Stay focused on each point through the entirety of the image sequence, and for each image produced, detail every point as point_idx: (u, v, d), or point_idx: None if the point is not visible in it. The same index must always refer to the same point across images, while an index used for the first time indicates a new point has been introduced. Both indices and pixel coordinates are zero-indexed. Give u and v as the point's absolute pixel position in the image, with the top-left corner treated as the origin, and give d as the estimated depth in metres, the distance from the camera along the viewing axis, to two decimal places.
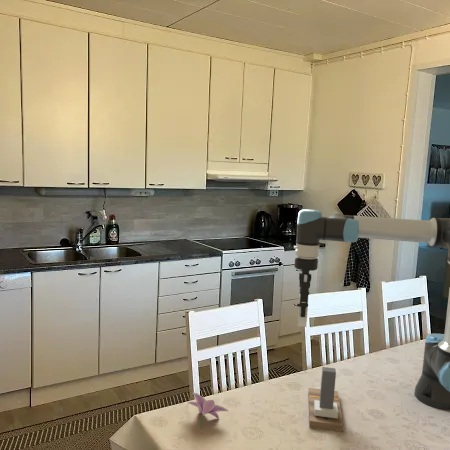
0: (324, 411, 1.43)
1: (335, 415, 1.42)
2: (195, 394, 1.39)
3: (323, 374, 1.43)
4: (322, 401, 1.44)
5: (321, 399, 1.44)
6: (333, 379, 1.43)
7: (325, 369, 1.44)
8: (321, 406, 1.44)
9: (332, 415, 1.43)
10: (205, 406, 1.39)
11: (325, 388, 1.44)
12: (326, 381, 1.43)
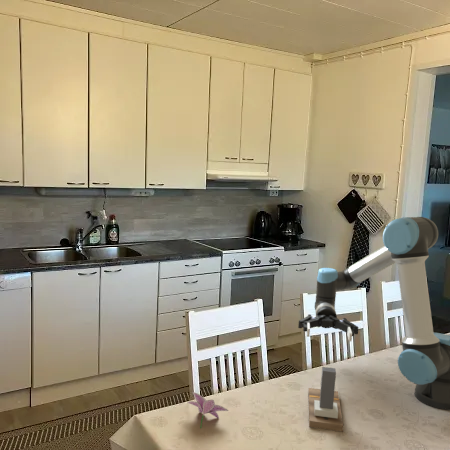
0: (324, 411, 1.43)
1: (335, 415, 1.42)
2: (195, 394, 1.39)
3: (323, 374, 1.43)
4: (322, 401, 1.44)
5: (321, 399, 1.44)
6: (333, 379, 1.43)
7: (325, 369, 1.44)
8: (321, 406, 1.44)
9: (332, 415, 1.43)
10: (205, 406, 1.39)
11: (325, 388, 1.44)
12: (326, 381, 1.43)
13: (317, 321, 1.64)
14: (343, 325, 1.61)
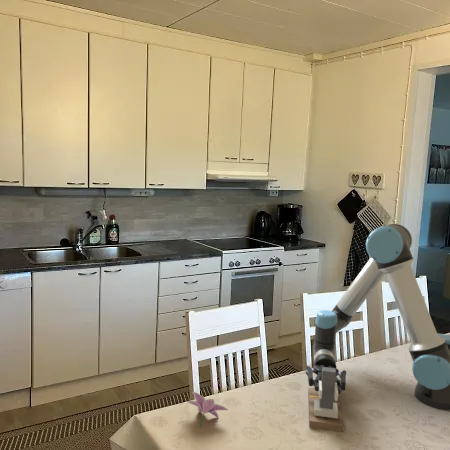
0: (324, 411, 1.43)
1: (335, 415, 1.42)
2: (195, 393, 1.39)
3: (323, 374, 1.43)
4: (322, 401, 1.44)
5: (321, 399, 1.44)
6: (333, 379, 1.43)
7: (325, 369, 1.44)
8: (321, 406, 1.44)
9: (332, 415, 1.43)
10: (205, 405, 1.39)
11: (325, 388, 1.44)
12: (326, 381, 1.43)
13: (321, 374, 1.52)
14: None
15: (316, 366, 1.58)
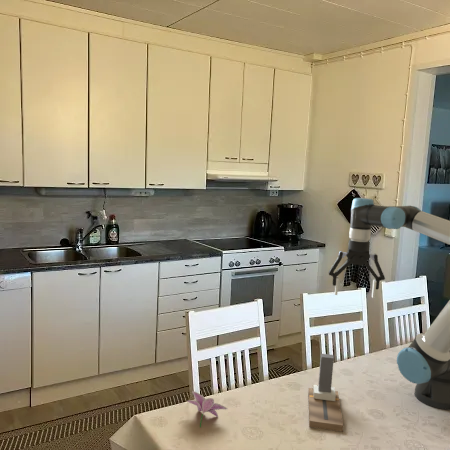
0: (322, 394, 1.54)
1: (333, 398, 1.53)
2: (194, 393, 1.40)
3: (322, 360, 1.54)
4: (321, 385, 1.55)
5: (320, 383, 1.55)
6: (331, 364, 1.54)
7: (323, 355, 1.55)
8: (320, 390, 1.55)
9: (330, 398, 1.53)
10: (204, 404, 1.40)
11: (323, 373, 1.54)
12: (325, 367, 1.54)
13: None
14: (371, 273, 1.71)
15: (350, 254, 1.72)
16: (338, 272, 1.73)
